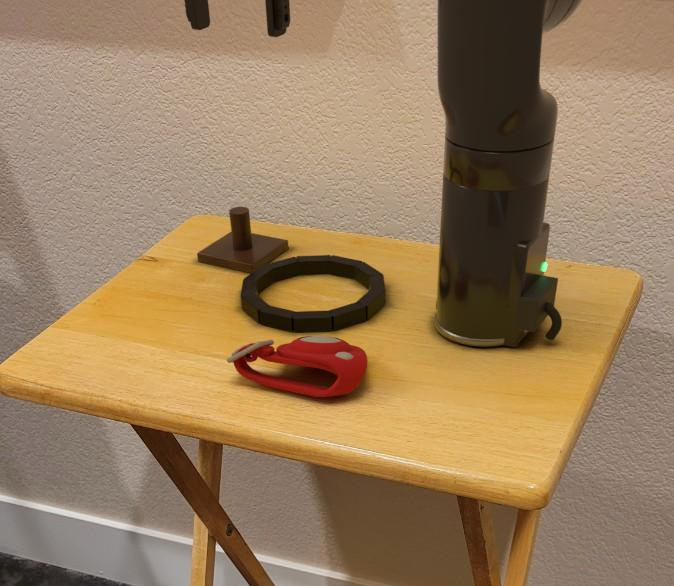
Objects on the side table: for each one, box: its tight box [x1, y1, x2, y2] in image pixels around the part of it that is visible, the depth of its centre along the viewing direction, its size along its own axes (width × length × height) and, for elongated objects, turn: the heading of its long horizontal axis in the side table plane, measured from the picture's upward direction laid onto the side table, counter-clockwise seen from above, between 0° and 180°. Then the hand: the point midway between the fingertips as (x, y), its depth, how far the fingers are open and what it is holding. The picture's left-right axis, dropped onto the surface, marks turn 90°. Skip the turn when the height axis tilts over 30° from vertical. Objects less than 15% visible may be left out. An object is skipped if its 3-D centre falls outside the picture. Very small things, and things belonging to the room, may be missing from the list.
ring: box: [240, 254, 386, 333], centre depth 92 cm, size 15×15×2 cm
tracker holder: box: [226, 335, 368, 398], centre depth 79 cm, size 12×4×10 cm
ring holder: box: [196, 206, 289, 274], centre depth 99 cm, size 8×8×5 cm
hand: (238, 31), depth 82 cm, fingers open, 8 cm apart
